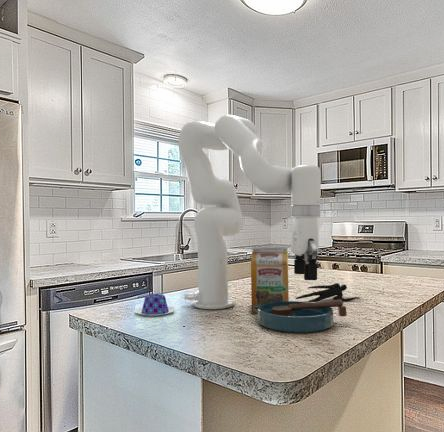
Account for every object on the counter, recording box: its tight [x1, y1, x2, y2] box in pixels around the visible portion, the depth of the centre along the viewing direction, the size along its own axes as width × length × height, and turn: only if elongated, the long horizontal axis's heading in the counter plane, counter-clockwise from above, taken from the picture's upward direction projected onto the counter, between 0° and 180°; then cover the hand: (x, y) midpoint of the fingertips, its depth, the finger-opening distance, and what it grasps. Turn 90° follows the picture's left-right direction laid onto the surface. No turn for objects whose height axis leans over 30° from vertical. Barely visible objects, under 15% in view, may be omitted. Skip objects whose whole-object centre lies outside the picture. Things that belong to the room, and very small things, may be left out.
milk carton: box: [250, 246, 290, 314], centre depth 126 cm, size 10×11×19 cm
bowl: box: [257, 300, 334, 334], centre depth 109 cm, size 19×19×4 cm
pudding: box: [134, 293, 176, 317], centre depth 124 cm, size 12×12×5 cm
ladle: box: [272, 299, 348, 318], centre depth 109 cm, size 19×5×4 cm, turn 93°
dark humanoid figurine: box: [295, 282, 362, 302], centre depth 135 cm, size 8×9×25 cm
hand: (305, 276), depth 109 cm, fingers open, 9 cm apart
